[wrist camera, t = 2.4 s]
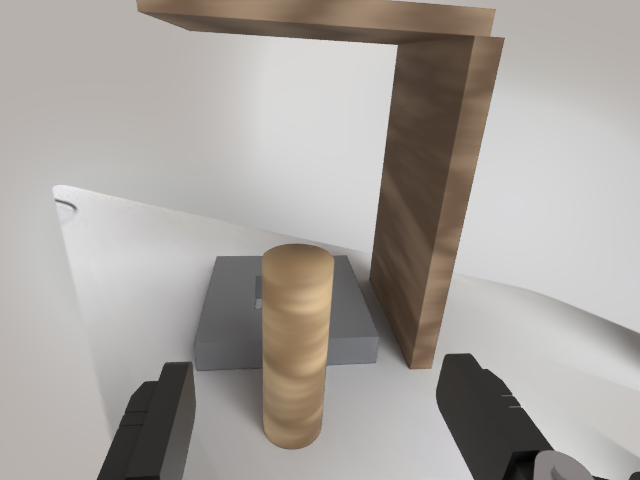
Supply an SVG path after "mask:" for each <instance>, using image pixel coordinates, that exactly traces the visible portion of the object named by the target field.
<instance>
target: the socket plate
mask: <svg viewBox="0 0 640 480" xmlns="http://www.w3.org/2000/svg"><path fill="white" fill-rule="evenodd" d="M262 257H263V256H217V258H216V262H215V265H214V269H213V273H212V277H211V281H210V284H209V288H208V292H207V296H206V300H205V304H204V307H203V311H202V315H201V319H200V323H199V326H198V330H197V334H196V338H195V342H194V348H195V358H196V368H197V371H204V370H227V369H249V368H263V329H262V309H256V299H260V298H262ZM333 258H334V272H333V285H332V298H331V311H330V324H329V336H328V349H327V362H326V365H340V364H363V363H376V357H377V350H378V343H379V335H378V332H377V330H376V327H375V325H374V322H373V320H372V317H371V315H370V312H369V310H368V307H367V305H366V302H365V300H364V297H363V295H362V292H361V290H360V287H359V285H358V282H357V280H356V277H355V275H354V272H353V270H352V267H351V265H350V262H349V260H348V258H347V256H333Z"/></svg>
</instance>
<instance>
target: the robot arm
mask: <svg viewBox="0 0 640 480" xmlns="http://www.w3.org/2000/svg"><path fill="white" fill-rule="evenodd" d="M436 399H437V404H438V408H439V410H440V412H441V414H442V416H443V418H444V420H445V422H446V424H447V426H448V428H449V430H450V432H451V434H452V436H453V438H454V440H455V442H456V444H457V446H458V448H459V450H460V452H461V454H462V456H463V458H464V460H465V462H466V464H467V466H468V468H469V470H470V472H471V474H472V476H473V478H474V480H608V479H604V478H600V477H595V476H592V475H591V474H590V472H589V471H588V470H587V469H586V468H585V467H584V466H583V465H582V464H581V463H579V462H578V461H576V460H575V459H573V458H572V457H570V456H568V455H566V454H564V453H561V452H557V451H555V450H554V449H553V448H552V447H551V445H550V444H549V442H548V441H547V440H546V438H545V437H544V436H543V434H542V433H541V432H540V430H539V429H538V428H537V426H536V425H535V424H534V422H533V421H532V420H531V418H530V417H529V416H528V414H527V413H526V412H525V410H524V409H523V408H521V405H520V404H519V402H518V401H517V400H516V398H515V397H513V396H512V393H511V392H510V390H509V389H508V388H507V386H506V385H505V383H504V382H503V381H502V380H501V379H500V378H498V377H497V376H496V375H495V374H493V373H492V372H491V371H489V370H488V369H482V368H481V366H480V365H479V364H478V362H477V361H476V359H475V358H474V357H473V356H472V355H471V354H469V353H464V354H447V355H445V357H444V360H443V364H442V368H441V372H440V376H439V380H438V385H437V389H436ZM195 408H196V399H195V387H194V376H193V365H192V362H166V363H165V364H164V366H163V369H162V372H161V375H160V378H159V380H158V381H147V382H144V383H143V384H142V385H141V386H140V387H139V388H138V389H137V390H136V391H135V393H134V394H133V395H132V396H131V398H130V401H129V403H128V405H127V408H126V410H125V415H123V417H122V420H121V422H120V425H119V429H118V430H117V432H116V434H115V437H114V439H113V442H112V444H111V447H110V449H109V451H108V454H107V456H106V459H105V461H104V463H103V466H102V468H101V471H100V473H99V476H98V478H97V480H182V477H183V472H184V467H185V463H186V458H187V453H188V448H189V443H190V439H191V434H192V429H193V424H194V419H195ZM629 480H640V471H639V472H635V473H633V474H632V475H631V476H630V478H629Z"/></svg>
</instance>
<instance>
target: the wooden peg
mask: <svg viewBox="0 0 640 480" xmlns="http://www.w3.org/2000/svg"><path fill="white" fill-rule="evenodd" d="M333 272H334V258H333V256H332V255H331V254H330V253H329V252H327V251H326V250H324V249H322V248H319V247H316V246H312V245H306V244H286V245H281V246H277V247H274V248H272V249H270V250H268V251H267V252H266V253H265V254H264V255H263V257H262V329H263V427H264V432H265V434H266V436H267V438H268V439H269V440H270V441H271V442H272V443H273V444H275V445H276V446H278V447H281V448H284V449H300V448H303V447H306V446H308V445H310V444H311V443H312V442H313V441H315V440H316V438H317V437H318V435H319V434H320V431H321V426H322V413H323V400H324V388H325V375H326V362H327V349H328V336H329V324H330V311H331V298H332V285H333Z"/></svg>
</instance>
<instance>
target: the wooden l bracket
mask: <svg viewBox="0 0 640 480" xmlns="http://www.w3.org/2000/svg"><path fill="white" fill-rule="evenodd" d="M136 1H137V8H138V11H139V12H141V13H144V14H147V15H150V16H152V17H154V18H157V19H160V20H162V21H165V22H168V23H170V24H173V25H176V26H179V27H181V28H184V29H186V30H189V31H200V32H214V33H229V34H244V35H260V36H274V37H289V38H303V39H319V40H334V41H348V42H363V43H378V44H393V45H398V49H397V57H396V65H395V74H394V82H393V90H392V98H391V106H390V115H389V123H388V130H387V139H386V148H385V155H384V163H383V172H382V180H381V188H380V196H379V204H378V213H377V221H376V229H375V237H374V245H373V253H372V261H371V269H370V278H369V280H370V283H371V285H372V287H373V289H374V291H375V294H376V296H377V298H378V300H379V302H380V304H381V307H382V309H383V311H384V313H385V315H386V317H387V320H388V322H389V324H390V326H391V328H392V331H393V333H394V335H395V337H396V339H397V341H398V344H399V346H400V348H401V350H402V352H403V354H404V357H405V359H406V361H407V363H408V365H409V368H410V369H426V368H431V367H432V363H433V358H434V354H435V349H436V345H437V340H438V336H439V331H440V327H441V322H442V318H443V313H444V309H445V304H446V300H447V295H448V291H449V286H450V282H451V277H452V273H453V268H454V263H455V259H456V255H457V250H458V246H459V241H460V237H461V232H462V228H463V223H464V218H465V214H466V210H467V205H468V201H469V196H470V192H471V187H472V183H473V178H474V174H475V169H476V165H477V160H478V156H479V151H480V147H481V142H482V138H483V133H484V129H485V125H486V120H487V116H488V111H489V106H490V102H491V97H492V93H493V89H494V84H495V80H496V75H497V70H498V66H499V62H500V57H501V52H502V48H503V43H504V39H505V38H500V37H490V34H491V29H492V24H493V20H494V15H495V9H487V8H476V7H463V6H452V5H439V4H428V3H416V2H404V1H391V0H136Z"/></svg>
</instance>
